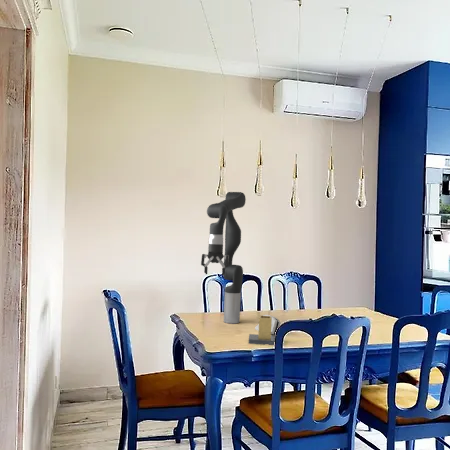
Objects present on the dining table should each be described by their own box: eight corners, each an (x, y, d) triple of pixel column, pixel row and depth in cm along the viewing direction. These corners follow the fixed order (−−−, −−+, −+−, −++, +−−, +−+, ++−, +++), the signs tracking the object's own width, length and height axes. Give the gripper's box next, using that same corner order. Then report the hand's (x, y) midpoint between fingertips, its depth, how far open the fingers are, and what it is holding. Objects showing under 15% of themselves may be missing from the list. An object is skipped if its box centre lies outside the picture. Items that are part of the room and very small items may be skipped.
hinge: (254, 328, 259) (260, 311, 261) (261, 331, 261) (267, 314, 262) (269, 336, 244) (275, 317, 245) (276, 338, 246) (283, 320, 247)
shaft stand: (249, 338, 237) (249, 324, 237) (279, 339, 236) (280, 325, 236) (248, 343, 226) (249, 328, 226) (280, 345, 225) (280, 330, 225)
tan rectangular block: (258, 335, 234) (259, 315, 234) (270, 336, 234) (271, 316, 234) (258, 338, 228) (259, 317, 228) (270, 339, 228) (271, 318, 228)
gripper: (230, 243, 249) (228, 274, 249) (203, 242, 250) (201, 273, 250) (229, 244, 241) (227, 276, 241) (201, 242, 242) (199, 274, 242)
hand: (214, 274), depth 245 cm, fingers open, 8 cm apart
